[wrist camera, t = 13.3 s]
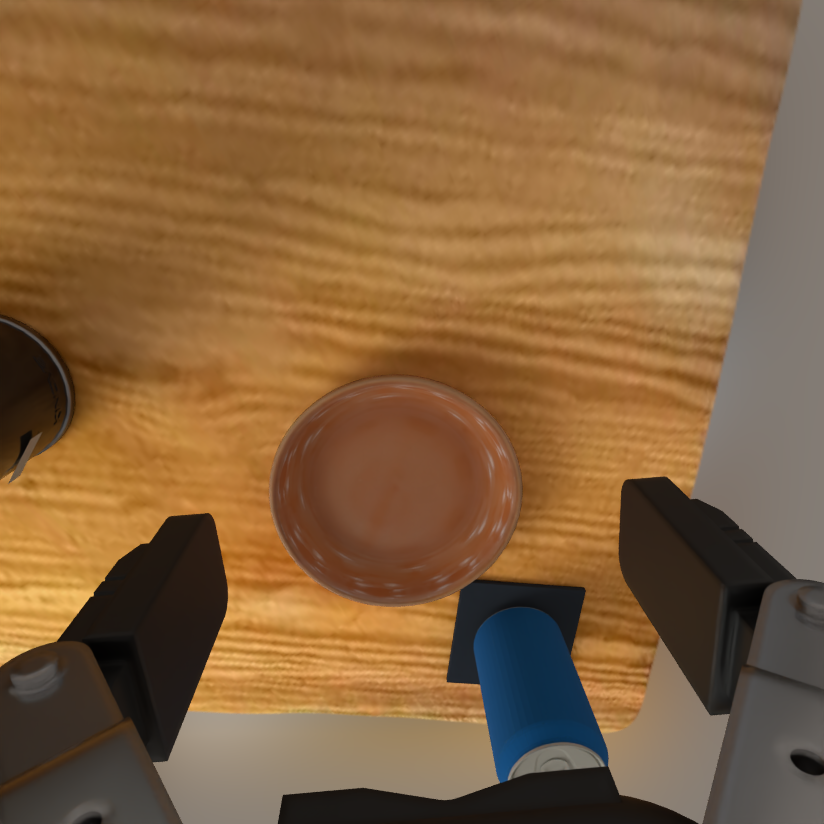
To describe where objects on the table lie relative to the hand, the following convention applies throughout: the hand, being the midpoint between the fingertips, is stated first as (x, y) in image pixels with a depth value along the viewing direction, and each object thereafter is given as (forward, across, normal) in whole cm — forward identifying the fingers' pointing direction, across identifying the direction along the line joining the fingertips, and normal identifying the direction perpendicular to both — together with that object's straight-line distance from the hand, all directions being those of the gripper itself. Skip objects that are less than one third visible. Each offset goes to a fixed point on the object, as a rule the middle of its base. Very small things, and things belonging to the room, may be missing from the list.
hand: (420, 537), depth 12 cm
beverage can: (+26, -7, +24) cm, 37 cm away
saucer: (+27, +1, +11) cm, 29 cm away
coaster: (+27, -7, +25) cm, 37 cm away
